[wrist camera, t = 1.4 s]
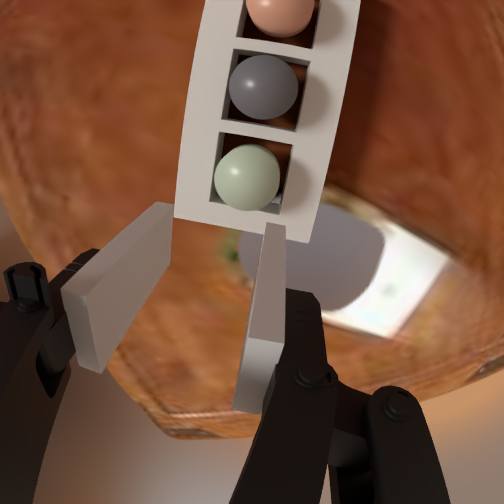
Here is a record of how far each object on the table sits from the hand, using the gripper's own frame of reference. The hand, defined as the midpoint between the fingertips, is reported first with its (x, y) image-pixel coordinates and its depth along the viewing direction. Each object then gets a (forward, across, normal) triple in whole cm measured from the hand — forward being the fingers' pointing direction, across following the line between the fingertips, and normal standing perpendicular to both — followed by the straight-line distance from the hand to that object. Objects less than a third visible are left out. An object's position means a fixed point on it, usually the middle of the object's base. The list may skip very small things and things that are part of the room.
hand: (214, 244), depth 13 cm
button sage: (+14, 0, 0) cm, 14 cm away
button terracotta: (+14, 0, +14) cm, 20 cm away
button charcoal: (+14, 0, +7) cm, 16 cm away
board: (+17, 0, +7) cm, 18 cm away
